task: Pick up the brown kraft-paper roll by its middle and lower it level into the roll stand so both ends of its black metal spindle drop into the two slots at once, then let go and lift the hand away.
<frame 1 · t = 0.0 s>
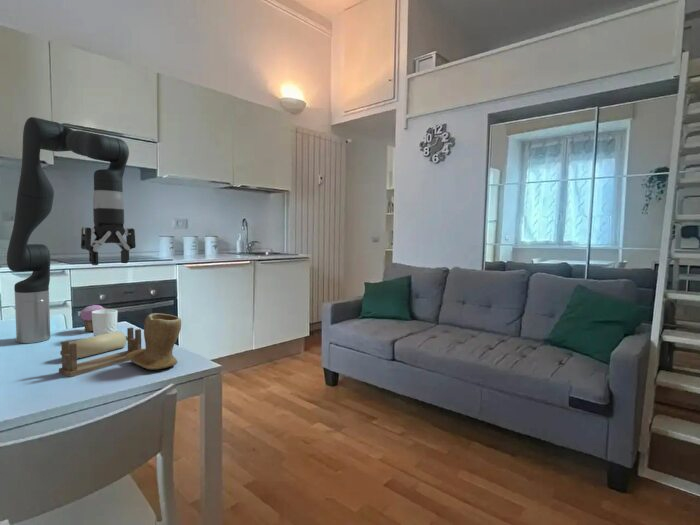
hand: (110, 264, 115), 29 cm above the table, tool pointing down, fingers open, 8 cm apart
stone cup: (156, 364, 117), on the table
cupcake: (94, 331, 152), on the table
white cup: (105, 339, 142), on the table
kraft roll: (96, 353, 126), on the table
roll stand: (104, 363, 116), on the table
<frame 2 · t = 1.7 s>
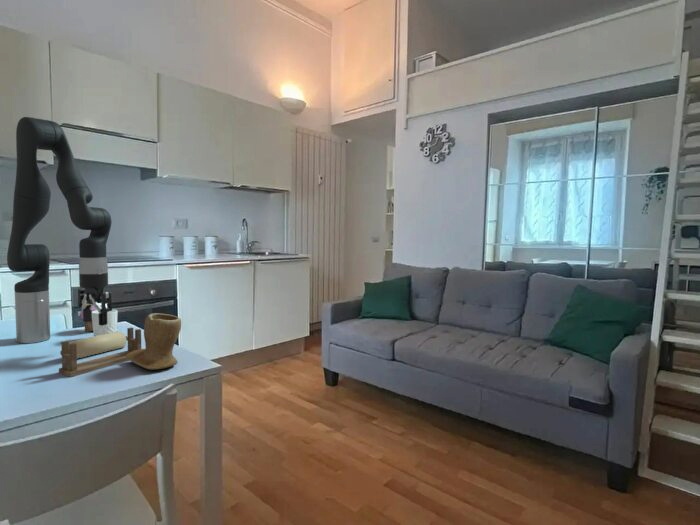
hand: (95, 323, 125), 10 cm above the table, tool pointing down, fingers open, 8 cm apart
nothing on the table moved.
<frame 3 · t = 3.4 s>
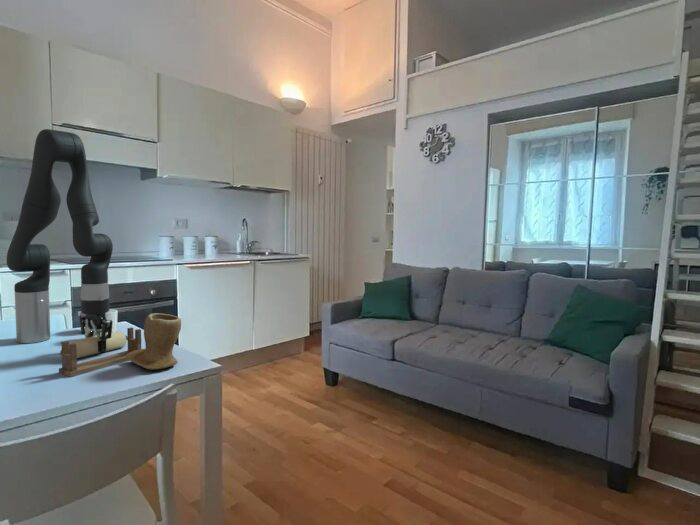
hand: (96, 350, 126), 1 cm above the table, tool pointing down, fingers closed on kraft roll, 5 cm apart
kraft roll: (96, 353, 126), on the table, touching gripper
everything else where it was.
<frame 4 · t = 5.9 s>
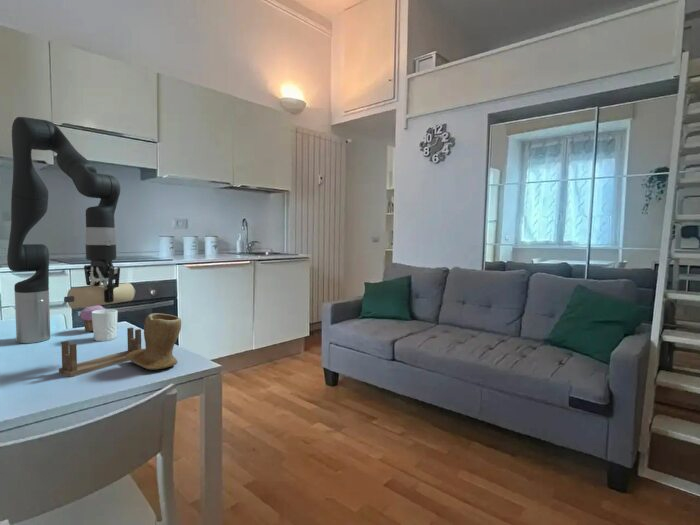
hand: (102, 301, 116), 18 cm above the table, tool pointing down, fingers closed on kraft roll, 5 cm apart
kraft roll: (102, 304, 116), point 17 cm above the table, touching gripper
everything else where it was.
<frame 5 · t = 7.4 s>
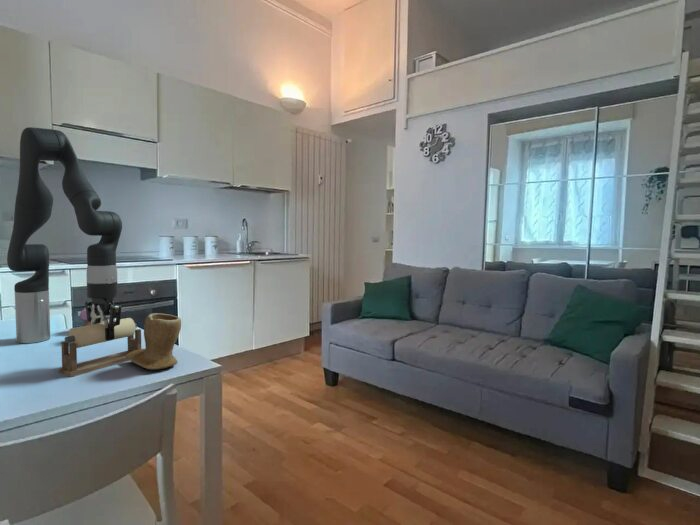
hand: (103, 338, 115), 8 cm above the table, tool pointing down, fingers closed on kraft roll, 5 cm apart
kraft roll: (103, 341, 116), point 7 cm above the table, touching gripper
everything else where it was.
when the fingers open (5 cm above the table, at t = 8.8 s): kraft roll stays where it is, resting on roll stand.
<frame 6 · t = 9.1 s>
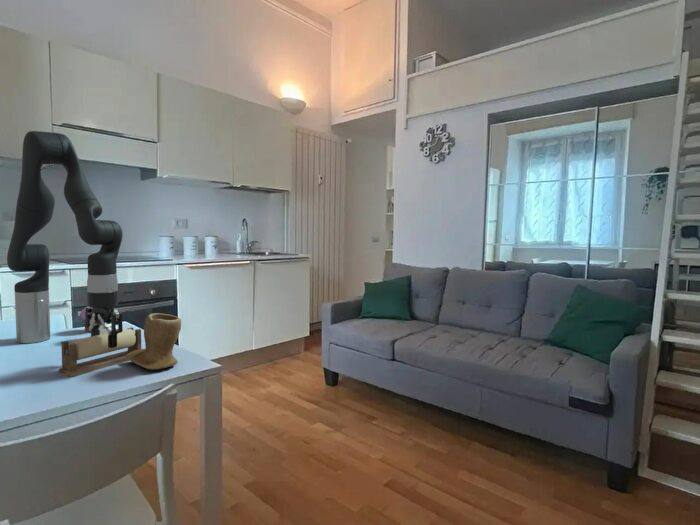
hand: (104, 344, 116), 6 cm above the table, tool pointing down, fingers open, 8 cm apart
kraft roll: (103, 353, 116), point 3 cm above the table, touching roll stand
everything else where it was.
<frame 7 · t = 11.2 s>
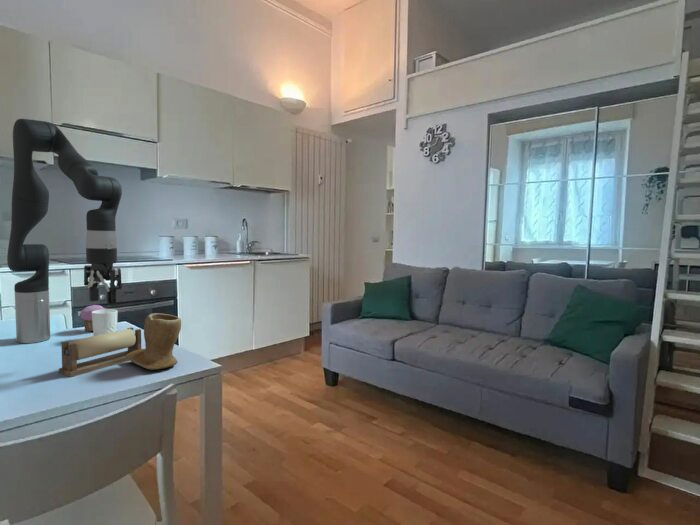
hand: (102, 302, 115), 18 cm above the table, tool pointing down, fingers open, 8 cm apart
nothing on the table moved.
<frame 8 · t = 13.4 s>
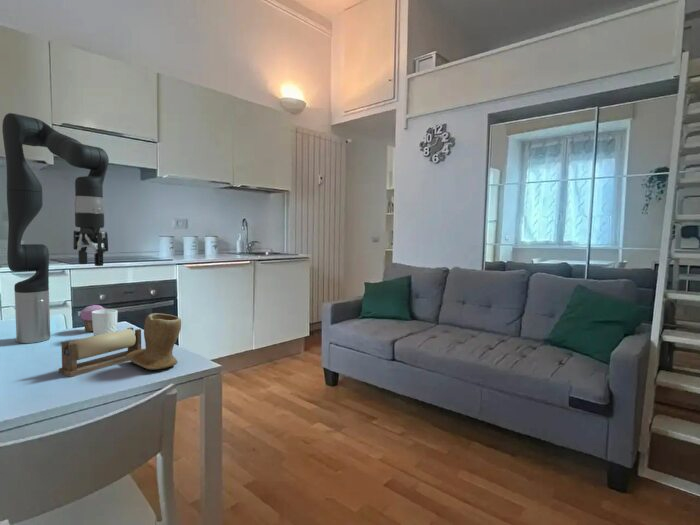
hand: (90, 264, 123), 28 cm above the table, tool pointing down, fingers open, 8 cm apart
nothing on the table moved.
at the end: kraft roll 0.2 cm off-centre on the roll stand, point 3.2 cm above the roll stand's base; the gripper is holding nothing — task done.
